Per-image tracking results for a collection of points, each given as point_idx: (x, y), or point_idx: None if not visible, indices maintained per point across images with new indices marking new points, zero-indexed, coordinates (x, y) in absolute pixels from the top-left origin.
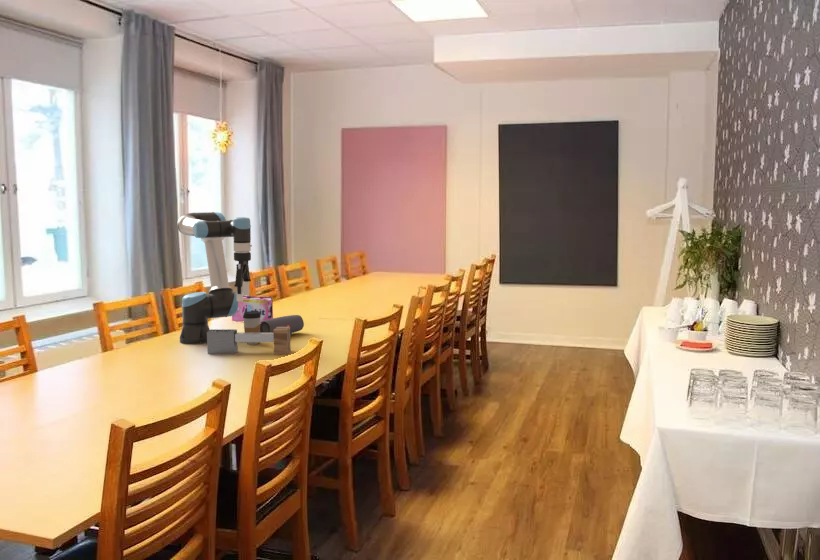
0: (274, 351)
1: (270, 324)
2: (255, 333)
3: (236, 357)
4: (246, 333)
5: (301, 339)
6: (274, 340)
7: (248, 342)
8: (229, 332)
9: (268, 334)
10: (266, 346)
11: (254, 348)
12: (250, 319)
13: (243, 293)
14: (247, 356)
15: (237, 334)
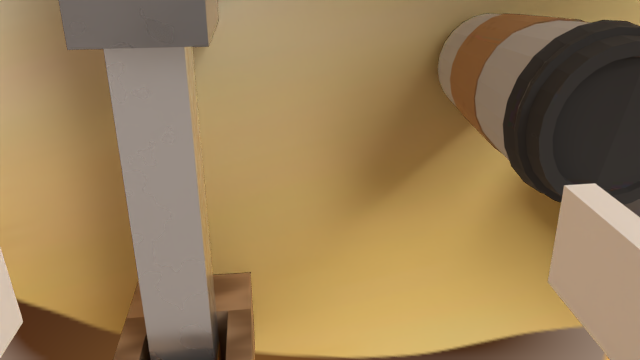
0: (135, 293)
1: (630, 207)
2: (158, 223)
3: (7, 68)
4: (149, 149)
5: (559, 322)
6: (120, 341)
7: (445, 46)
8: (60, 4)
9: (146, 320)
10: (375, 179)
11: (313, 117)
12: (503, 120)
13: (584, 213)
14: (55, 136)
15: (108, 74)
